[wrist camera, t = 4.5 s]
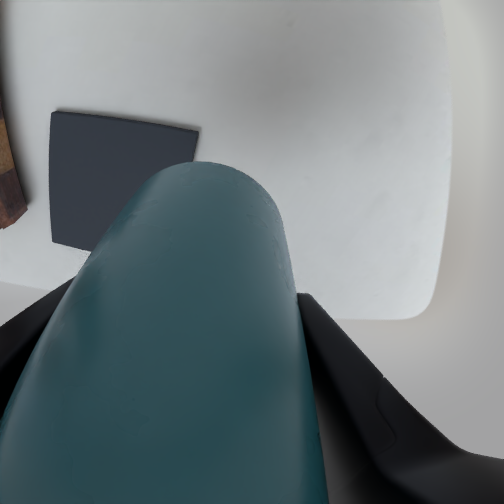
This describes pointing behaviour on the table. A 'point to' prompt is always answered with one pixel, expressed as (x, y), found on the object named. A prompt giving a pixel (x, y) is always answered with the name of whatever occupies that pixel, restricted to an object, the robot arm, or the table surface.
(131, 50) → the table surface
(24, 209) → the book
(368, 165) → the table surface
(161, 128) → the mat
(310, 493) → the can
